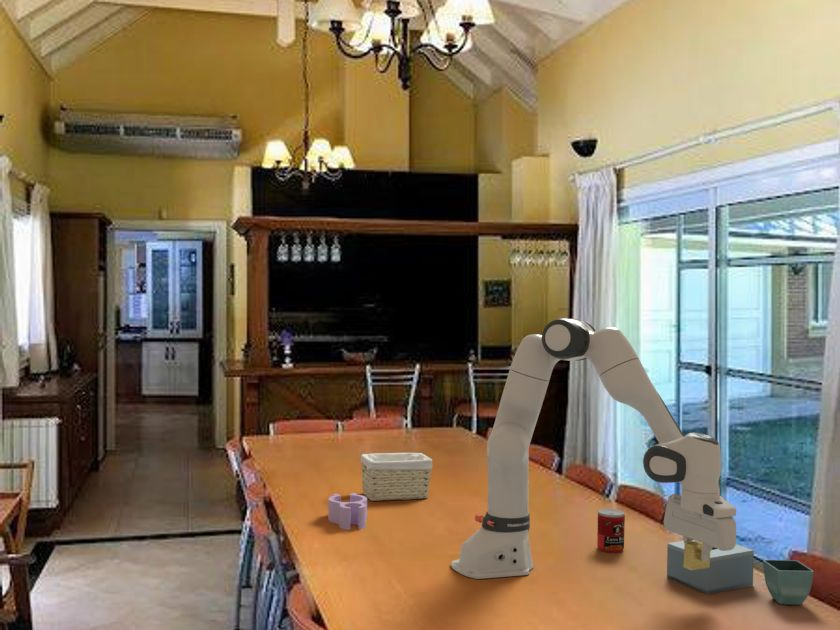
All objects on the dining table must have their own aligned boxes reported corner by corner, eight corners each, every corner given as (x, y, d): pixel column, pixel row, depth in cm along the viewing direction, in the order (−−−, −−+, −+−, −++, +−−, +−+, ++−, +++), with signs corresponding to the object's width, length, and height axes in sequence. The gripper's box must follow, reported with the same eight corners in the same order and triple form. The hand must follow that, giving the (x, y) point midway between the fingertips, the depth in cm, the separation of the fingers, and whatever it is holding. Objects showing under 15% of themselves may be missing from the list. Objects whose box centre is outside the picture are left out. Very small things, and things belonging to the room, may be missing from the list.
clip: (374, 529, 265) (374, 507, 265) (334, 531, 262) (335, 508, 262) (362, 513, 284) (362, 492, 284) (325, 515, 281) (325, 494, 281)
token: (691, 570, 202) (692, 545, 202) (683, 567, 204) (684, 542, 204) (709, 567, 205) (710, 543, 205) (701, 564, 207) (703, 540, 207)
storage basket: (420, 489, 320) (421, 451, 320) (433, 499, 304) (434, 459, 304) (358, 493, 313) (359, 453, 313) (368, 503, 298) (369, 461, 297)
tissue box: (707, 594, 210) (708, 558, 210) (666, 577, 223) (667, 543, 222) (752, 585, 217) (753, 550, 217) (711, 569, 230) (711, 536, 230)
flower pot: (796, 595, 210) (797, 559, 210) (813, 608, 202) (814, 570, 201) (761, 595, 210) (762, 559, 210) (777, 608, 201) (778, 570, 201)
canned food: (605, 554, 242) (605, 515, 242) (592, 546, 250) (593, 509, 250) (629, 552, 244) (630, 514, 244) (615, 544, 252) (616, 507, 252)
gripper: (659, 492, 212) (656, 547, 212) (722, 513, 194) (719, 572, 194) (678, 490, 215) (675, 544, 215) (742, 510, 196) (739, 569, 197)
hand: (696, 558), depth 204 cm, fingers closed on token, 2 cm apart
